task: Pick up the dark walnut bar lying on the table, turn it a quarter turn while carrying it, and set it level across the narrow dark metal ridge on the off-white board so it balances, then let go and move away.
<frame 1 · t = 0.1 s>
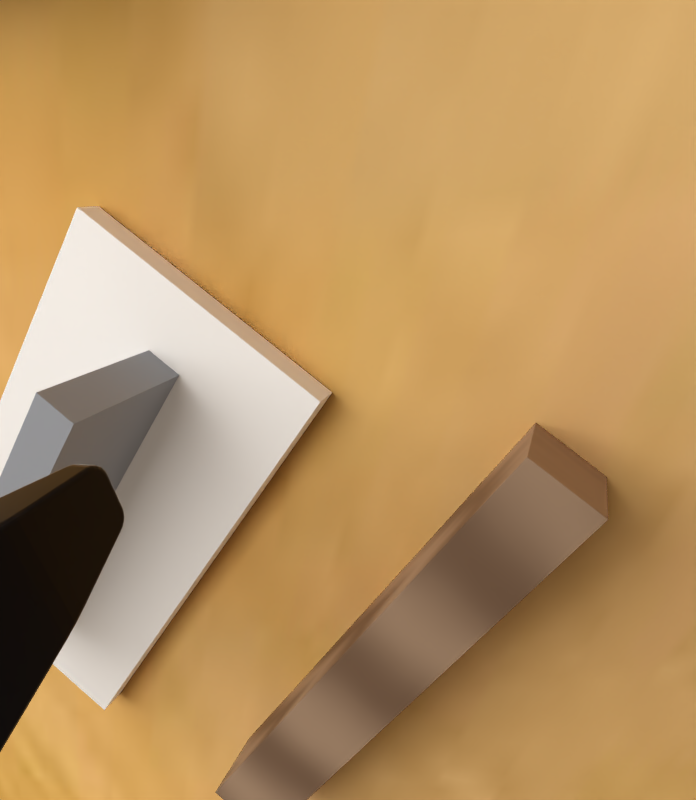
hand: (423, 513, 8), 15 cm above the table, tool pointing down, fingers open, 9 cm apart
walnut bar: (397, 627, 28), on the table
ridge: (110, 485, 30), on the table
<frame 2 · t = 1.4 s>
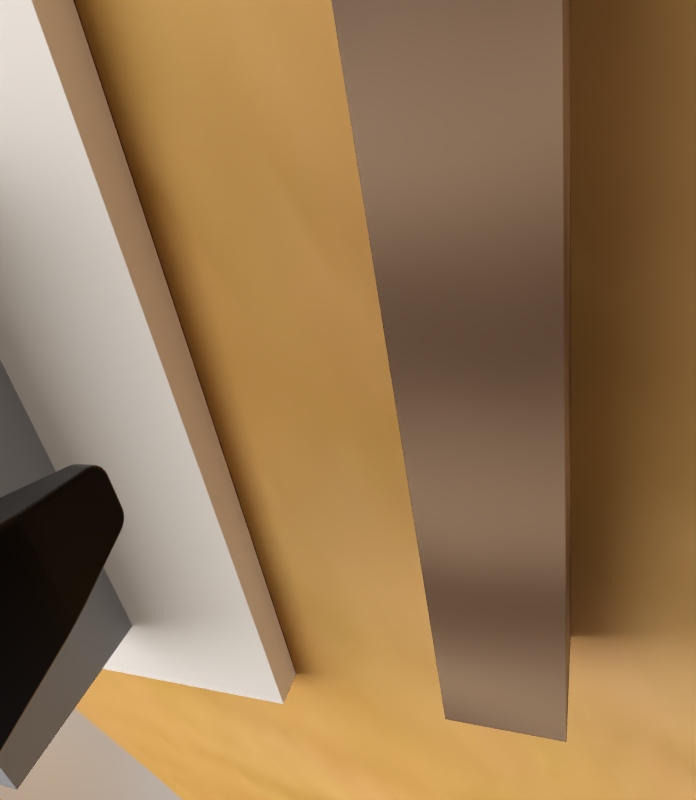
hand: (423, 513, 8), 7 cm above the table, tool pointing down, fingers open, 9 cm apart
walnut bar: (496, 266, 14), on the table
ridge: (47, 418, 20), on the table
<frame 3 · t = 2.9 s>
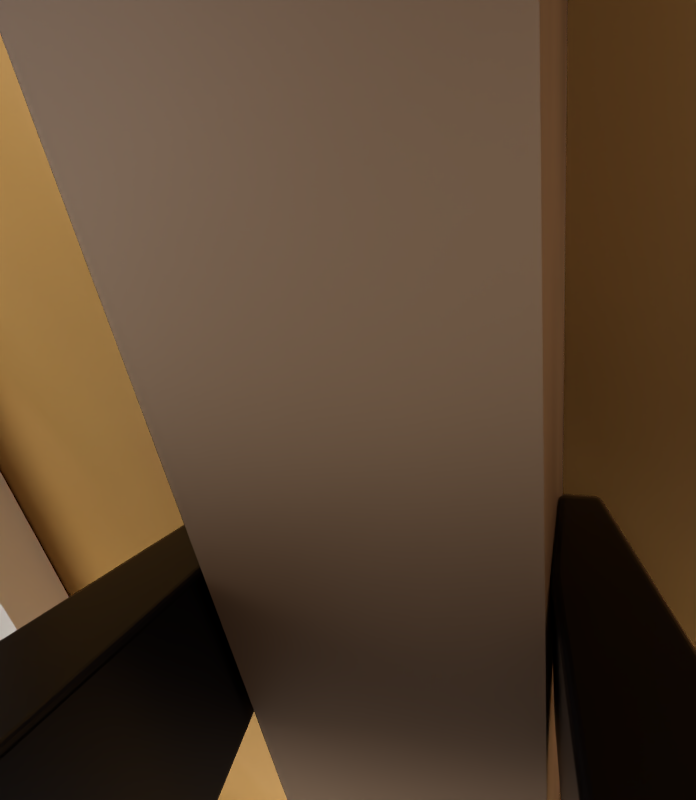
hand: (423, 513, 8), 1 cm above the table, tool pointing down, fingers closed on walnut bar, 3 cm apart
walnut bar: (446, 446, 9), on the table, touching gripper
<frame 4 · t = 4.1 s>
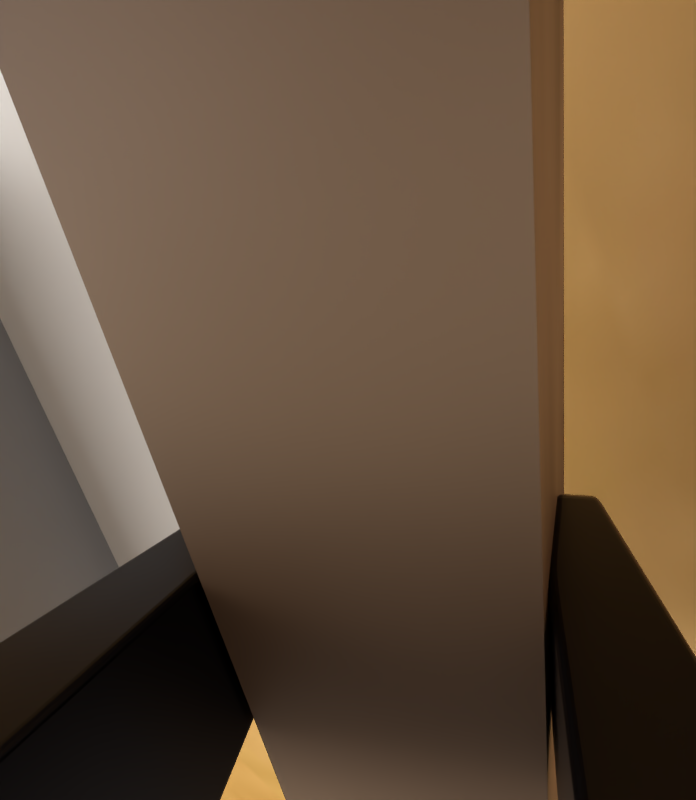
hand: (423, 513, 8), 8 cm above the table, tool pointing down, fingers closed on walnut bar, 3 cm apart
walnut bar: (445, 448, 9), point 6 cm above the table, touching gripper
ridge: (62, 415, 21), on the table
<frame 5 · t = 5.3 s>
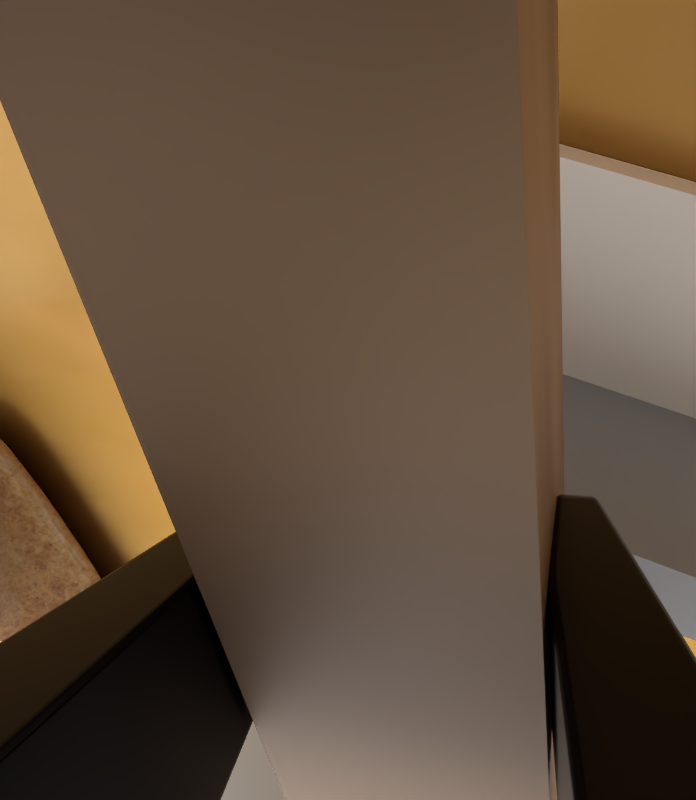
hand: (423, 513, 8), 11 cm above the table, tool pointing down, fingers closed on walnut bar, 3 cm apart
walnut bar: (444, 445, 9), point 10 cm above the table, touching gripper
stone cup: (18, 521, 33), on the table
ridge: (525, 365, 19), on the table
when the fingers open (9 cm above the table, at t = 7.1 s): walnut bar stays where it is, resting on ridge.
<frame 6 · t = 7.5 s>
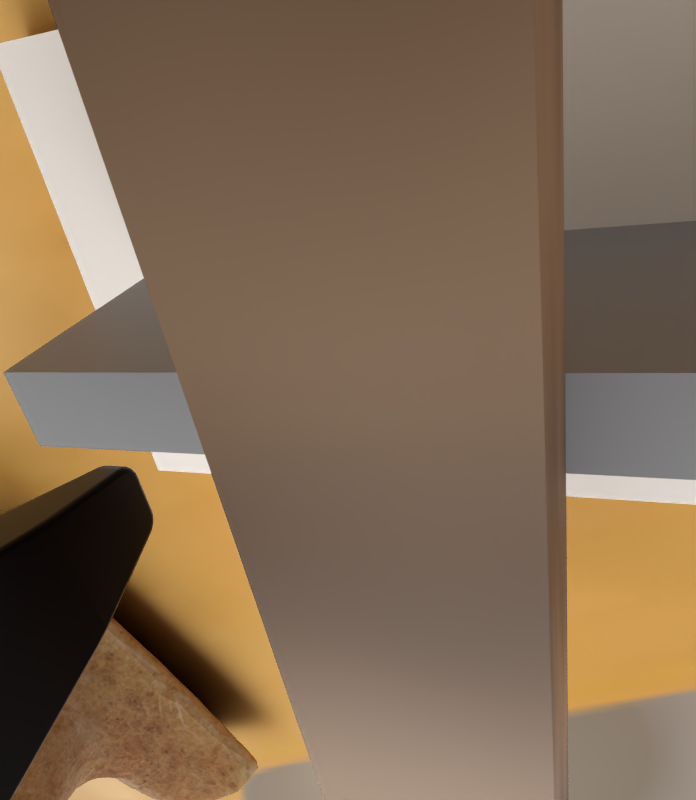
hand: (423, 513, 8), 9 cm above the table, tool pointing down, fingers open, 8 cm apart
walnut bar: (453, 418, 9), point 7 cm above the table, touching ridge
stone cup: (96, 643, 31), on the table
ridge: (508, 252, 15), on the table
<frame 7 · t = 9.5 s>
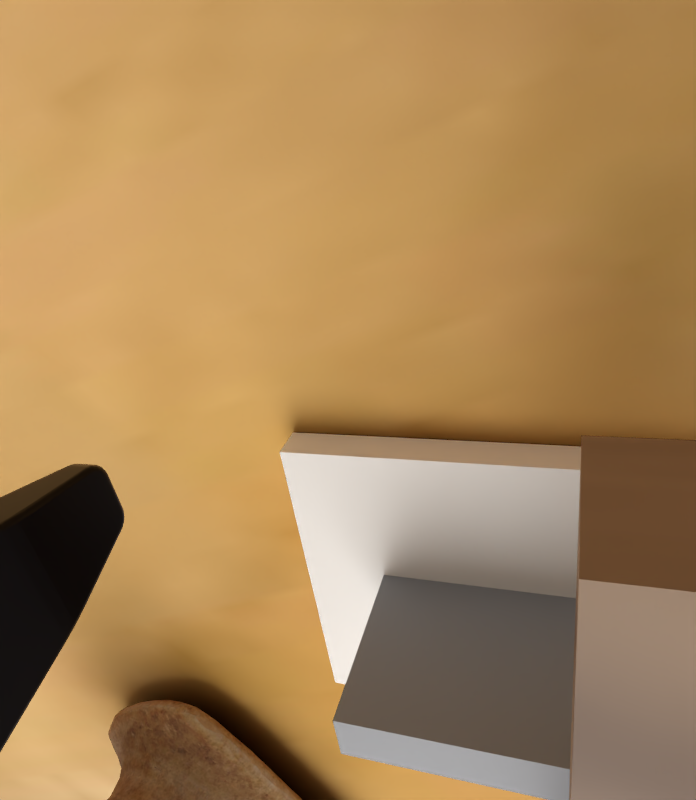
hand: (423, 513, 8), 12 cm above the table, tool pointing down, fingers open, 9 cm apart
walnut bar: (631, 799, 16), point 7 cm above the table, touching ridge
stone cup: (230, 767, 38), on the table
ridge: (621, 593, 22), on the table
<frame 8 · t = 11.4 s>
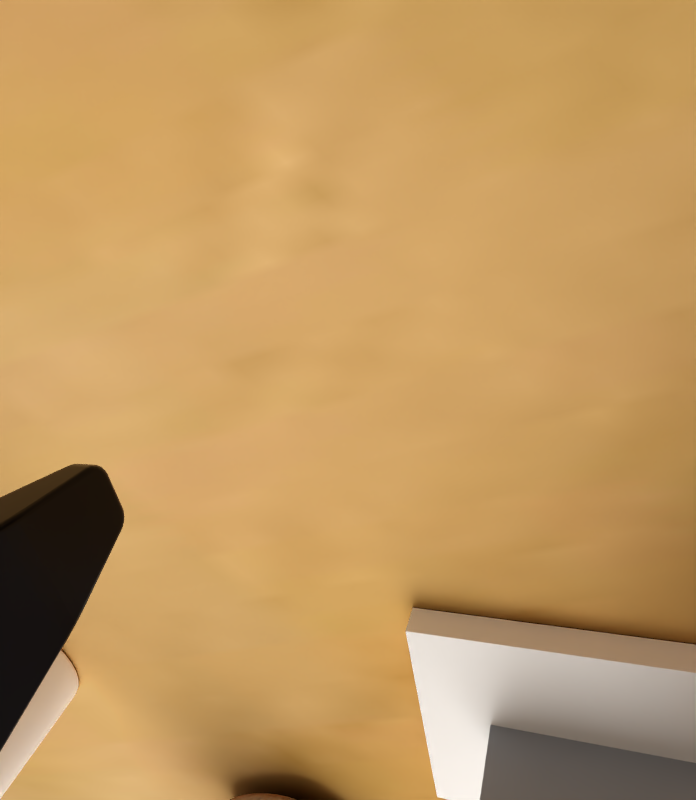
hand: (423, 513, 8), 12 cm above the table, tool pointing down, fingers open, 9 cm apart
bottle: (26, 652, 41), on the table
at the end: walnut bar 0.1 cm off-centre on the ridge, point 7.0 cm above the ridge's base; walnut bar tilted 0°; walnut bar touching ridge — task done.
